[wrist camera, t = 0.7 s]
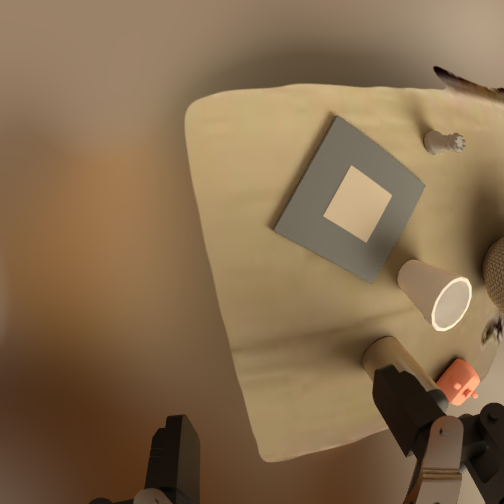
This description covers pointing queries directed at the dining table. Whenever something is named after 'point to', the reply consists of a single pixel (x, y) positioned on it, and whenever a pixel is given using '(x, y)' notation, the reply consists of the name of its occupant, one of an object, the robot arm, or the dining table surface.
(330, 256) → the board
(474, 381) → the teapot
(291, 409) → the dining table surface
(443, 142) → the rook chess piece
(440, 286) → the foam cup
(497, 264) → the planter
